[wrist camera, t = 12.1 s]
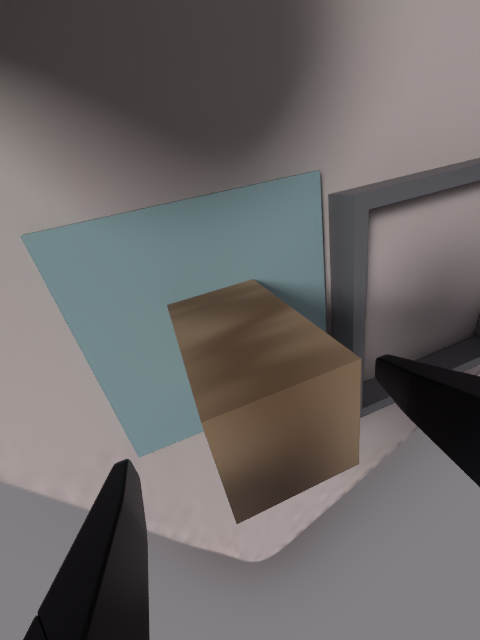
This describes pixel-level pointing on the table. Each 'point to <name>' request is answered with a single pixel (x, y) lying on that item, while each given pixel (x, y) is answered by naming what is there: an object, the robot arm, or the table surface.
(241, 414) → the walnut plug block
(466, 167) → the gray rectangular frame
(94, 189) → the table surface
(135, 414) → the rubber mat
